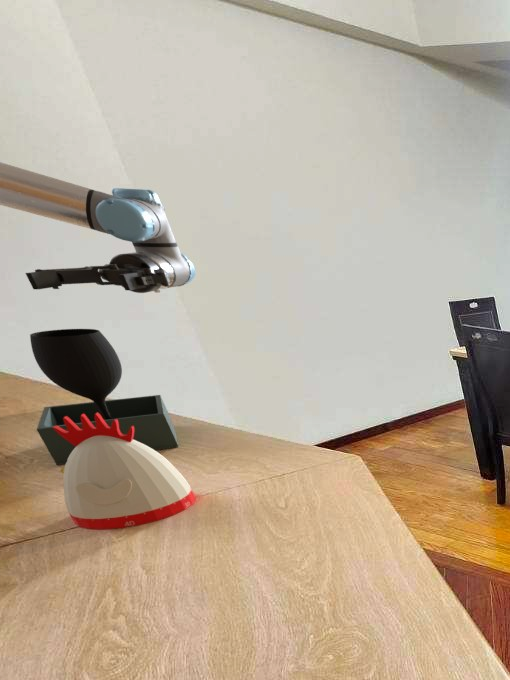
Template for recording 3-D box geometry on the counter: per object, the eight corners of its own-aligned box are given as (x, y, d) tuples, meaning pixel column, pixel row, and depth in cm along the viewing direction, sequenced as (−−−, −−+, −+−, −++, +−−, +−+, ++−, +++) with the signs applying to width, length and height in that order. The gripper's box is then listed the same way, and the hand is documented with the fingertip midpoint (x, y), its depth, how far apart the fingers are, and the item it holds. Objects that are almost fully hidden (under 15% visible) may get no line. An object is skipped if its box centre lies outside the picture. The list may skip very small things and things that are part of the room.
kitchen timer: (95, 498, 94) (44, 405, 86) (204, 486, 99) (165, 397, 92) (57, 536, 83) (-5, 433, 76) (182, 519, 89) (136, 422, 81)
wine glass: (142, 429, 121) (93, 326, 111) (164, 439, 116) (115, 332, 106) (72, 442, 113) (13, 332, 103) (93, 453, 108) (34, 340, 98)
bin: (62, 440, 115) (44, 406, 112) (174, 425, 125) (160, 394, 122) (56, 465, 104) (36, 429, 101) (178, 447, 114) (163, 413, 111)
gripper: (217, 292, 132) (169, 304, 114) (77, 290, 125) (3, 303, 107) (204, 254, 128) (152, 261, 111) (59, 251, 121) (-21, 257, 104)
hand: (78, 282), depth 109 cm, fingers open, 13 cm apart
